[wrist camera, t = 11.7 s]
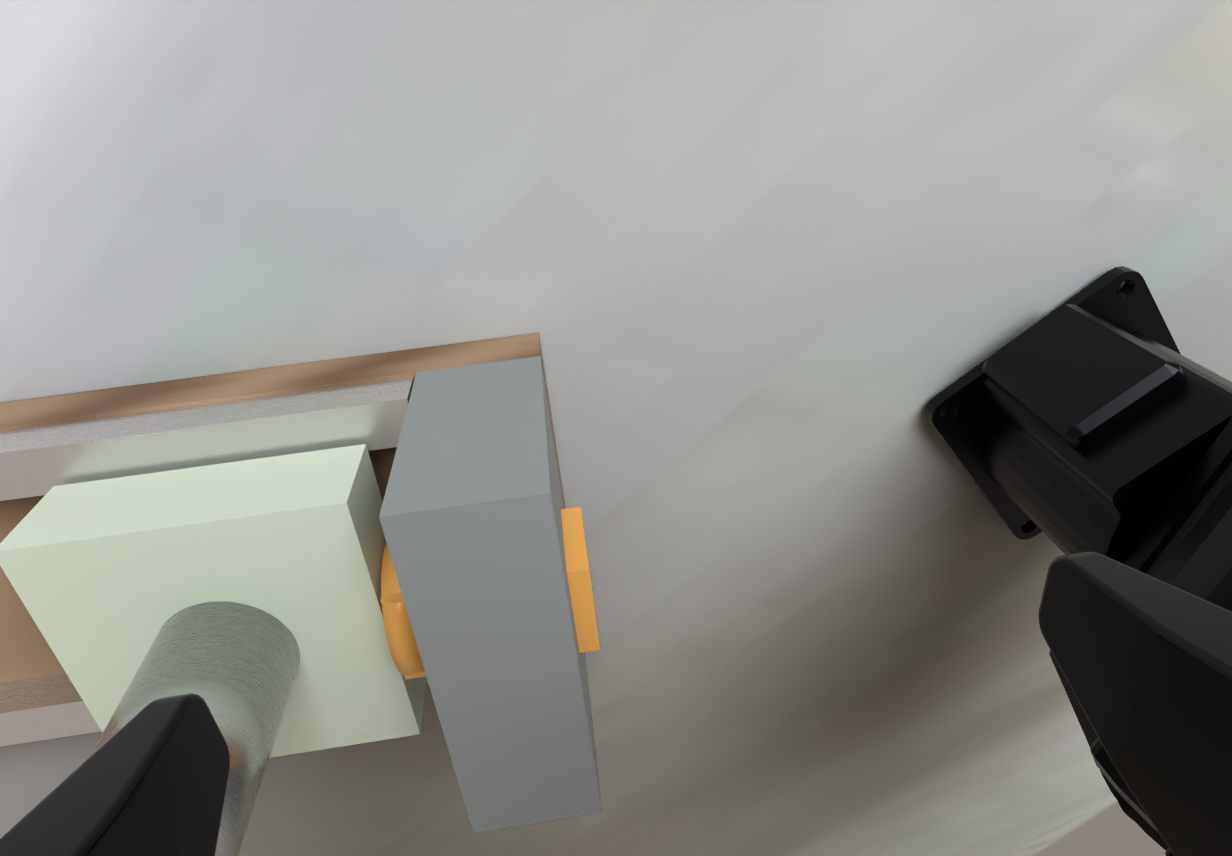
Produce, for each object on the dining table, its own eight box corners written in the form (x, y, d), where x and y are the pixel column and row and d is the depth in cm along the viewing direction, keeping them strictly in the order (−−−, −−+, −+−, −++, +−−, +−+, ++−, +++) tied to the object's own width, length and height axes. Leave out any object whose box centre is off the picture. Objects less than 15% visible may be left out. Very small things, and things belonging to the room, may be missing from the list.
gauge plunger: (578, 484, 19) (588, 567, 16) (591, 584, 21) (603, 674, 18) (393, 510, 19) (373, 598, 16) (422, 609, 21) (407, 705, 18)
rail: (538, 333, 20) (550, 492, 14) (578, 596, 25) (602, 812, 18) (-401, 454, 19) (-877, 693, 13) (-182, 709, 23) (-450, 984, 17)
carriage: (366, 444, 18) (217, 895, 9) (429, 662, 21) (367, 1147, 12) (53, 486, 18) (-430, 1002, 9) (169, 702, 21) (-90, 1231, 12)
